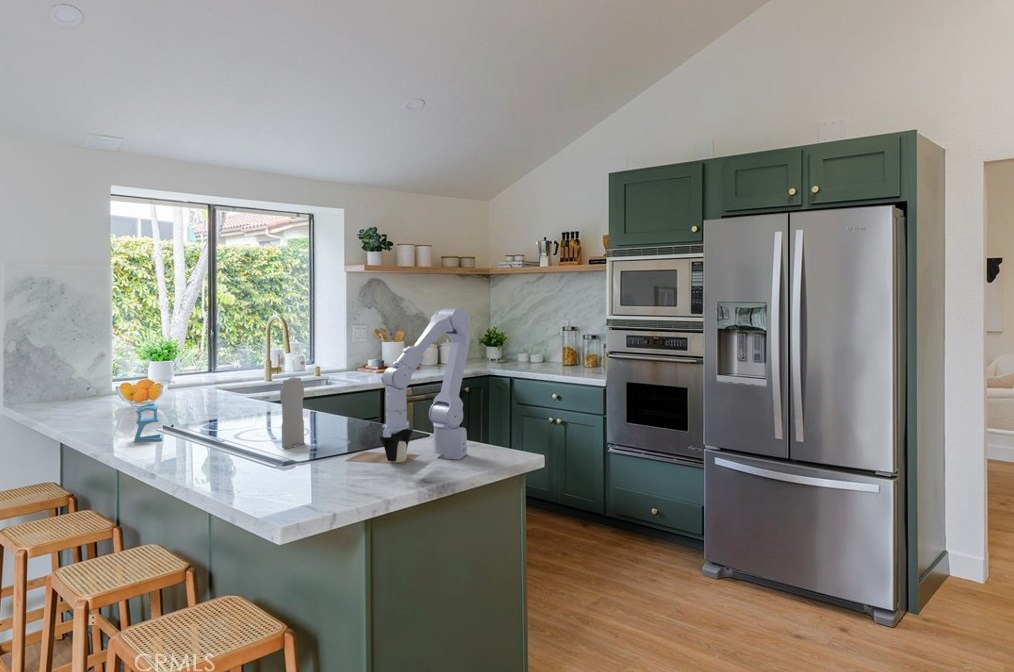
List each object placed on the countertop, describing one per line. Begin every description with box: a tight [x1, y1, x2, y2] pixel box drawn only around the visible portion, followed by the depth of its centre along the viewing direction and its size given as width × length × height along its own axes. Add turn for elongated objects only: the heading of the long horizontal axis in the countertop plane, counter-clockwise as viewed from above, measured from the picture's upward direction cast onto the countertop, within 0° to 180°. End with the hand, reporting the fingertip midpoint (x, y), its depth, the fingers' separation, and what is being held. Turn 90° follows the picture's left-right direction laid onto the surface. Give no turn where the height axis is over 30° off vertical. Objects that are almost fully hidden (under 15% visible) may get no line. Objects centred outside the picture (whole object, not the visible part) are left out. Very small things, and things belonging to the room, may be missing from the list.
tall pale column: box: [279, 376, 305, 449], centre depth 224 cm, size 11×4×22 cm, turn 156°
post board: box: [345, 451, 420, 466], centre depth 202 cm, size 18×12×6 cm, turn 77°
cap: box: [387, 441, 408, 463], centre depth 199 cm, size 5×5×5 cm
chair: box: [133, 403, 163, 443], centre depth 234 cm, size 8×8×12 cm
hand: (396, 457), depth 199 cm, fingers open, 7 cm apart
